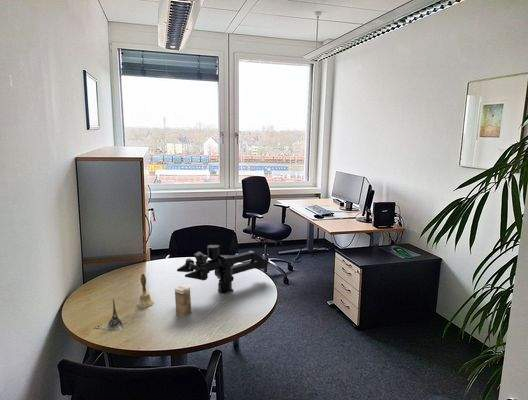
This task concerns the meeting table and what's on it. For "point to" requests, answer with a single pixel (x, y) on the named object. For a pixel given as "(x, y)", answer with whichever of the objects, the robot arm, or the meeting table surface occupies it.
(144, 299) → the hand bell
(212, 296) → the meeting table surface
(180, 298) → the wooden block
